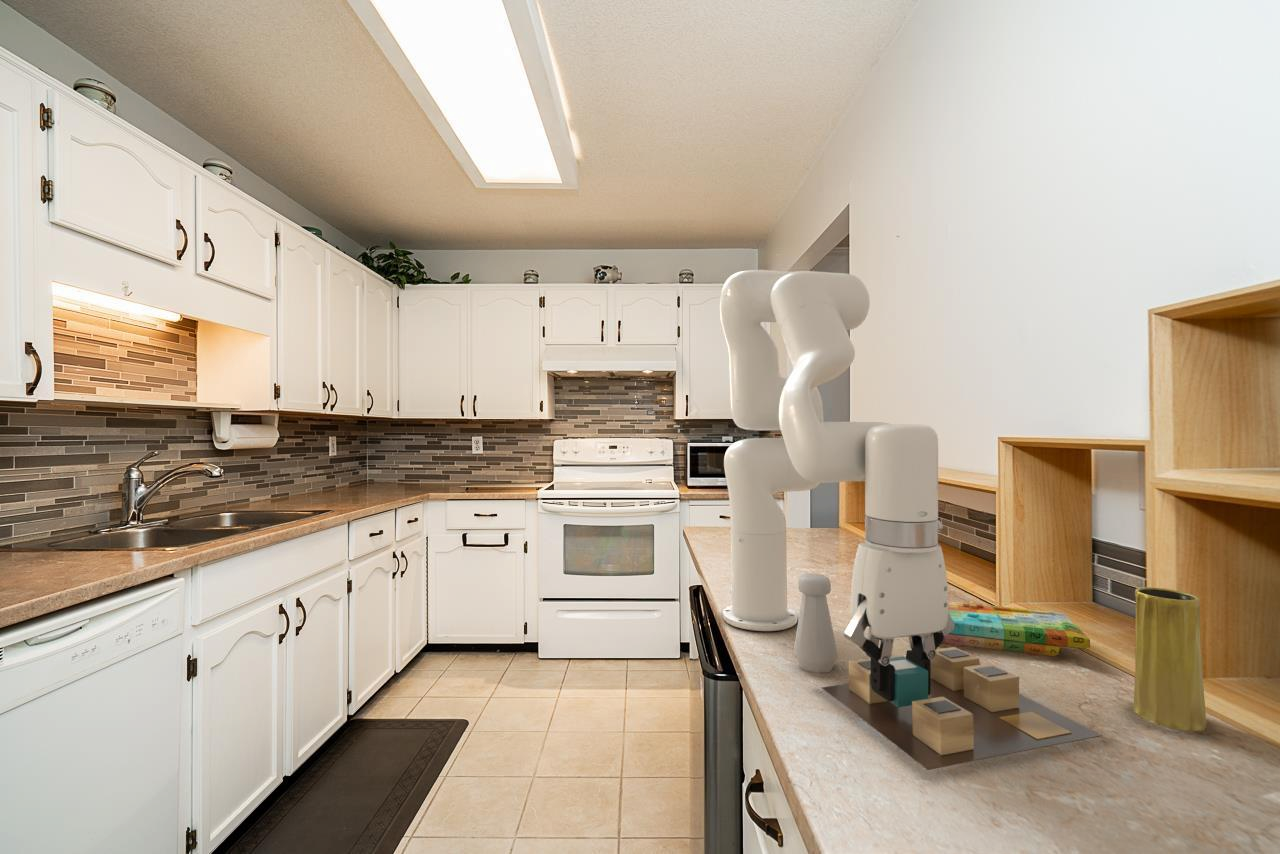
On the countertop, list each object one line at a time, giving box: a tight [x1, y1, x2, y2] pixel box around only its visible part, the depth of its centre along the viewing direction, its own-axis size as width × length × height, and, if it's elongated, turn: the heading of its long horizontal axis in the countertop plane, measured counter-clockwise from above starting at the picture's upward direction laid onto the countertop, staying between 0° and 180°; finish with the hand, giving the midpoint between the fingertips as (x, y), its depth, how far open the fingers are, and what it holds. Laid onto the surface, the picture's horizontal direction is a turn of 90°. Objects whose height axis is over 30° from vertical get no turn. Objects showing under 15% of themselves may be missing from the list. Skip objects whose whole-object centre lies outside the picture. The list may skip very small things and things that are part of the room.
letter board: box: [820, 678, 1103, 771], centre depth 65 cm, size 18×22×1 cm
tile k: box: [912, 697, 974, 755], centre depth 59 cm, size 4×4×4 cm
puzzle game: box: [941, 600, 1091, 657], centre depth 87 cm, size 12×5×20 cm
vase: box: [1132, 586, 1208, 732], centre depth 63 cm, size 6×6×14 cm
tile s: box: [889, 656, 928, 707], centre depth 64 cm, size 4×4×4 cm
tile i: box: [930, 646, 981, 691], centre depth 72 cm, size 4×4×4 cm
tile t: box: [963, 662, 1020, 712], centre depth 67 cm, size 4×4×4 cm
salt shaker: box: [793, 572, 839, 674], centre depth 78 cm, size 6×6×13 cm
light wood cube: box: [848, 657, 887, 704], centre depth 69 cm, size 4×4×4 cm
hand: (900, 691), depth 64 cm, fingers closed on tile s, 4 cm apart
